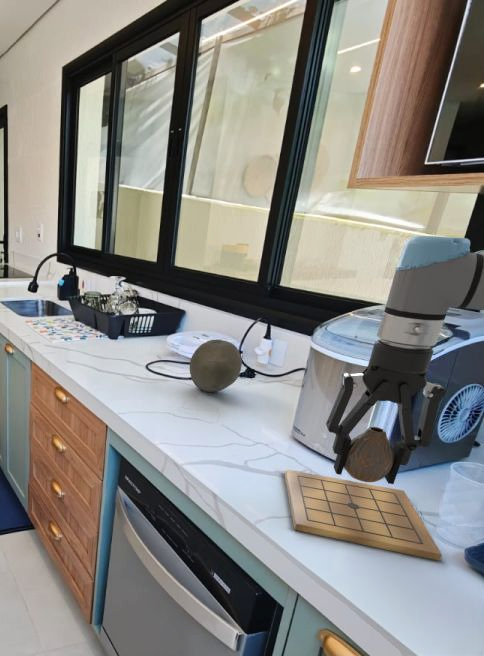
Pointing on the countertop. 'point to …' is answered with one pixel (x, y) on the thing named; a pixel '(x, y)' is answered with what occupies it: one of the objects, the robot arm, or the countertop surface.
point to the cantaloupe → (215, 365)
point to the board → (358, 514)
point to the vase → (370, 456)
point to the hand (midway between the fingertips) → (362, 475)
